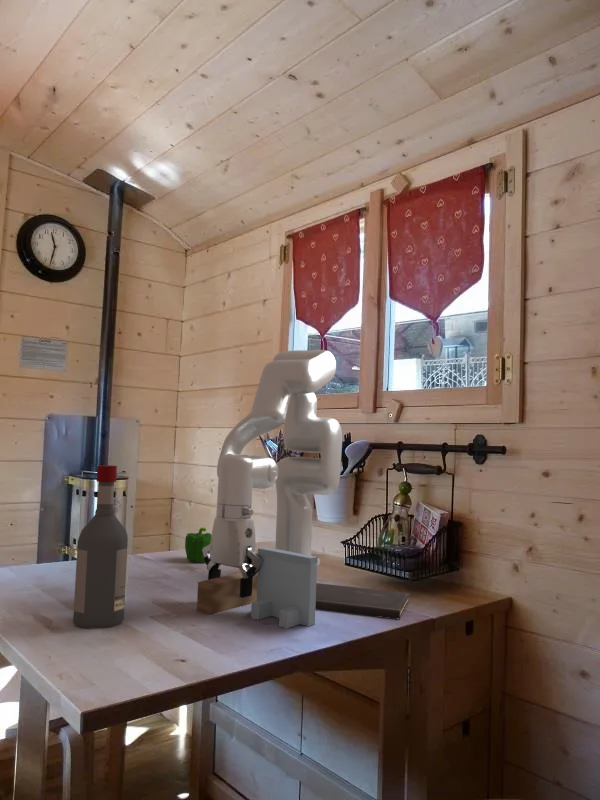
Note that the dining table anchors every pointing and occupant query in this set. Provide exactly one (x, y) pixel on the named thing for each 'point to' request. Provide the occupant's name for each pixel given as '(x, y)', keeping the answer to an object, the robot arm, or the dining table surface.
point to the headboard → (286, 587)
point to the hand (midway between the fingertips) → (229, 592)
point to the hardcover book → (360, 600)
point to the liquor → (101, 561)
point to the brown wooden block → (223, 594)
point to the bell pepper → (196, 545)
